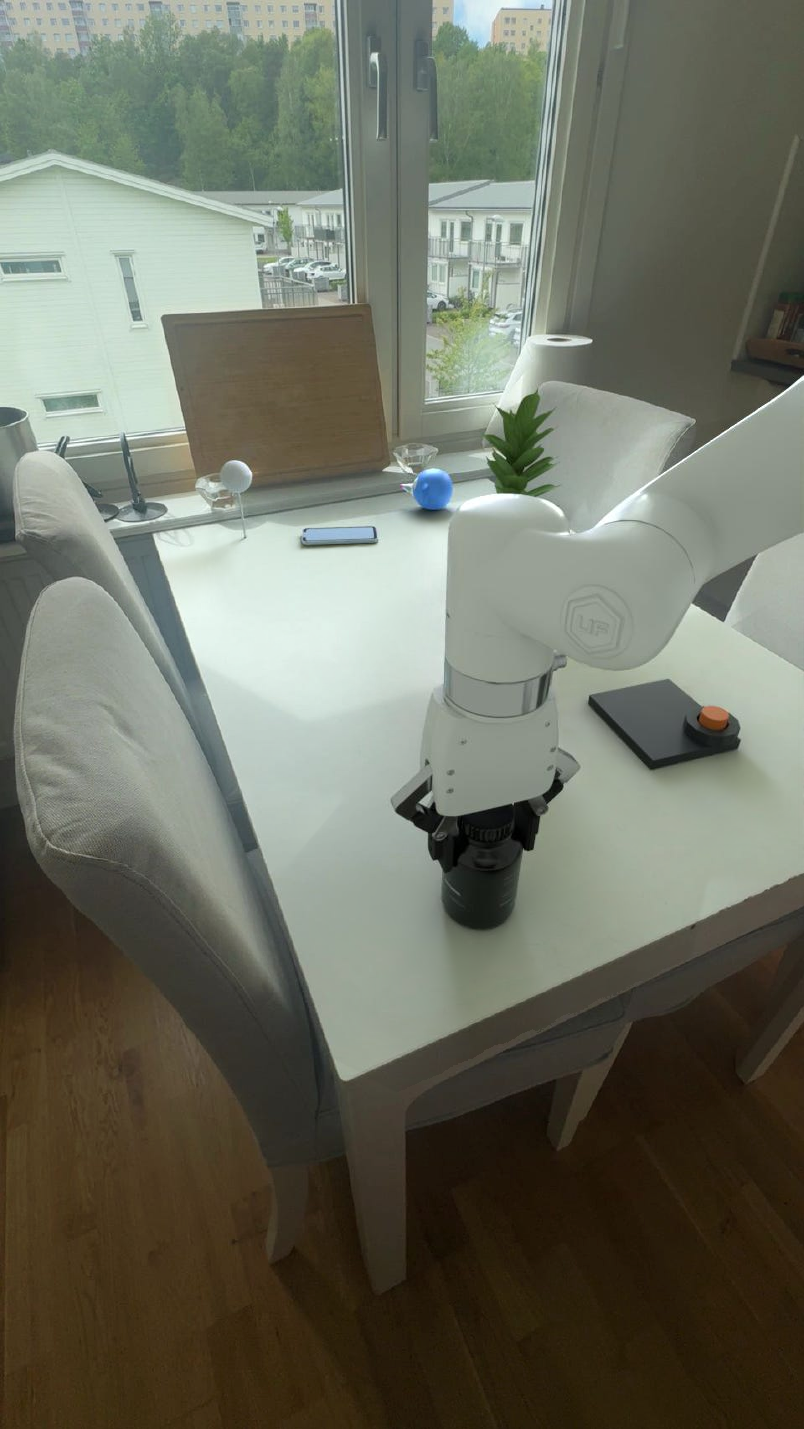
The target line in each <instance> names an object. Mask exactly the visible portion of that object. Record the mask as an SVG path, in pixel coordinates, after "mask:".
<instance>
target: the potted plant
mask: <svg viewBox="0 0 804 1429" xmlns="http://www.w3.org/2000/svg"><path fill="white" fill-rule="evenodd" d="M540 401H541V396H540V395H539V388H537V389H536V390H535V392H534V393H530V394H527V395H525V396H524V397H523V398H522V399H521V401H520V403H519V405H518V408H517V410H516V412H515V413H514V412H513V410H512V409H511V408H510V409H509V412H507V411H505V410H503V408H501V407H498V406H496V404H495V403H494V402H492V404H493V405H494V406H495V409H496V410H497V411H498V413H499V414H500V416H501V418H502V426H503V433H504V439H505V440H503V439H502V438H501V437H499V436H497V435H495V434H485V433H483V432H482V431H480V434H481V435H482V436H483V438H484V439H485V440H486V441H487V442H488V443H490V444H491V446H493V447H494V448H493V447H492V448H491V450H492V451H493V452H492V453H491V456H492V458H493V459H494V460H491V459H489V458H488V456H485V458H486V461H487V462H486V464H487V466H488V467H489V469H490V470H491V472H492V473H493V475H494V476H495V478H496V479H497V480H498V481H495V482H494V488H495V491H496V494H521V495H528V496H533V497H537V498H538V497H539V496H542V495H544V494H546V493H548V492H550V491H553V490H555V489H556V488H559V487H560V486H562V485H563V484H558V485H554V484H552V483H551V484H550V483H548V484H543V485H541V486H538V487H535V488H533V489H531V490H529V491H526V490H525V489H527V487H528V483H530V482H531V481H533V480H535V479H536V478H538V477H539V476H541V475H543V474H545V473H546V472H548V471H549V470H551V469H553V468H554V467H555V466H556V465H558V464H559V463H560V461H558V462H556V463H550V462H552V461H554V460H555V459H557V458H558V456H556V457H553V456H546V457H543V458H541V459H539V458H540V457H541V455H542V454H543V453H544V451H545V447H543V446H542V444H539V445H538V446H537V447H535V446H536V444H537V443H538V442H539V441H541V440H542V439H544V438H545V437H547V436H548V435H549V434H550V433H552V432H553V431H554V430H556V429H557V428H558V427H559V425H557V426H556V427H555V428H554V427H549V428H546V429H545V430H544V431H542V432H540V433H538V432H537V430H538V428H539V427H540V426H541V425H542V424H543V423H544V421H546V420H547V418H549V416H550V415H551V414H552V413H553V412H554V411H555V410H556V408H557V406H555V407H554V408H553V409H552V410H548V411H547V412H544V413H541V414H539V415H538V416H536V413H537V410H538V407H539V404H540ZM535 416H536V417H535ZM496 450H497V451H498V452H499V453H498V452H496ZM538 459H539V460H538ZM560 506H561V505H560V504H559V505H558V507H560Z"/></svg>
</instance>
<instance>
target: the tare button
mask: <svg viewBox="0 0 804 1429" xmlns="http://www.w3.org/2000/svg"><path fill="white" fill-rule="evenodd" d="M728 718H729V714H728V711H727V710H726V709H724V708H722V707H721V706H717V705H706V706H705V707H704V708H703V709H702V711H701V714H700V718H699V723H700V724H701V725H702V726H703V727H706V728H708V729H711V730H723V729H724V728H725V727H726V724H727V721H728Z"/></svg>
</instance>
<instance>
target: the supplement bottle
mask: <svg viewBox="0 0 804 1429" xmlns="http://www.w3.org/2000/svg"><path fill="white" fill-rule="evenodd" d="M450 833H451V835H452V837H453V840H454V849H453V869H452V870H451V872H448V873H444V872H443V870H442V869H441V871H442V872H441V903H442V907H443V908H444V911H445V912H446V913H447V915H448V916H449V917H450V918H451V919H452V920H453V921H454V922H455V923H457V924H458V925H461V926H462V927H465V928H468V929H471V930H477V931H479V930H480V931H484V930H491V929H494V928H497V927H499V926H501V925H502V924H504V923H505V922H506V921H507V920H508V919H509V918H510V917H511V915H512V914H513V912H514V910H515V909H514V908H515V906H516V901H517V900H516V899H517V893H518V887H519V882H520V874H521V867H522V862H523V853H524V849H523V838H522V835H521V832H520V830H519V829H518V827H517V826H516V825H515V809H514V806H513V803H512V804H507V805H503V806H499V807H495V808H491V809H487V810H483V811H478V812H474V813H469V814H465V815H459V817H458V819H457V820H456V822H455V824H454V825H453V827H452V829H451V830H450Z"/></svg>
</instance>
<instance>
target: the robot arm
mask: <svg viewBox="0 0 804 1429" xmlns="http://www.w3.org/2000/svg"><path fill="white" fill-rule="evenodd" d="M800 534H804V375H802V376H800V378H799V379H797V380H796V381H795V382H794V383H792V384H791V385H790V386H789V387H788V388H787V389H785V390H784V391H783V392H781V393H780V394H779V395H777V396H776V397H774V398H772V399H771V400H770V401H768V402H767V403H765V404H764V405H762V406H761V407H759V408H757V409H756V410H755V411H753V412H751V413H750V414H749V415H747V416H745V417H744V418H743V419H741V420H740V421H738V422H737V423H735V424H734V425H732V426H731V427H729V428H727V429H726V430H725V431H723V432H721V433H720V434H719V435H717V436H716V437H714V438H713V439H711V440H710V441H708V442H706V443H705V444H704V445H702V446H700V447H699V448H698V449H696V450H695V451H694V452H692V453H690V454H689V455H688V456H686V457H685V458H683V459H682V460H680V461H679V462H678V463H676V464H674V465H673V466H671V467H670V468H669V469H667V470H666V471H664V472H663V473H661V474H660V475H659V476H657V477H655V478H654V479H653V480H651V481H649V482H648V483H647V484H645V485H643V486H642V487H641V488H639V489H638V490H636V491H635V492H634V493H632V494H631V495H629V496H628V497H627V498H625V499H624V500H623V501H622V502H620V503H618V505H616V506H615V507H614V508H613V509H612V510H611V511H609V512H608V513H607V514H605V516H603V518H602V519H600V520H599V521H598V523H596V524H595V525H594V526H593V527H592V528H590V529H587V530H584V531H581V532H577V533H571V530H570V522H569V520H568V518H567V516H566V515H565V512H564V511H563V510H562V509H561V508H560V507H559V506H558V505H556V504H554V503H553V502H551V501H549V500H546V499H544V498H541V497H538V496H537V497H533V496H528V495H521V494H497V493H493V494H488V495H487V494H486V495H483V496H482V495H481V496H477V497H474V498H472V499H469V500H467V501H465V502H464V503H463V504H461V505H460V506H459V507H457V509H456V510H455V511H454V512H453V514H452V517H451V518H450V522H449V525H448V532H447V551H446V552H447V553H446V582H445V583H446V584H445V586H446V587H445V588H446V589H445V626H444V658H443V661H444V662H443V683H440V684H437V685H436V686H434V688H433V689H432V692H431V695H430V698H429V702H428V704H427V705H428V706H427V709H426V713H425V719H424V724H423V729H422V737H421V745H420V756H419V771H418V772H417V773H416V774H415V775H414V776H413V777H412V778H411V779H410V780H409V781H407V783H406V784H404V785H403V786H402V787H401V788H400V789H399V790H398V791H397V792H396V793H394V794H393V795H392V796H391V798H390V803H391V806H392V808H393V810H394V812H395V814H397V815H398V816H400V817H401V818H403V819H405V820H406V821H408V822H411V823H412V824H413V826H414V827H416V828H417V829H420V830H422V831H423V832H425V833H427V850H428V854H429V856H430V858H431V860H432V862H433V861H438V864H439V865H440V867H441V871H442V870H443V872H444V873H448V872H451V870H452V869H453V849H454V840H453V837H452V835H451V833H450V830H451V829H452V827H453V825H454V824H455V822H456V820H457V819H458V817H459V815H465V814H469V813H474V812H478V811H483V810H487V809H491V808H495V807H499V806H503V805H507V804H512V805H513V806H514V809H515V825H516V826H517V827H518V829H519V830H520V832H521V835H522V838H523V851H526V852H531V851H534V849H535V843H536V837H537V835H539V831H540V823H541V817H542V816H544V815H545V814H547V813H548V811H549V806H548V805H549V804H550V803H551V801H553V800H554V799H555V798H556V797H557V796H558V795H559V794H560V793H561V792H562V791H563V790H564V788H565V787H564V784H567V783H568V782H569V781H570V780H571V779H572V778H573V777H574V776H575V775H576V774H577V773H578V772H579V771H580V769H581V764H580V763H579V762H578V761H577V760H576V758H575V757H574V756H573V755H572V754H571V753H569V752H567V751H566V750H564V749H562V748H561V747H559V713H558V704H557V696H556V690H555V688H554V686H553V685H552V682H553V675H554V672H556V671H558V669H564V668H565V667H566V666H567V664H568V658H570V659H571V660H573V661H575V662H578V663H580V664H583V665H585V666H588V667H590V668H595V669H598V670H603V671H610V672H611V671H612V672H621V671H628V670H632V669H636V668H639V667H641V666H644V665H645V664H647V663H649V662H651V661H652V660H653V659H655V658H656V657H657V656H658V655H659V654H660V653H661V652H662V651H663V650H664V649H665V647H667V645H668V644H669V642H670V641H671V639H672V638H673V636H674V635H675V633H676V631H677V629H678V628H679V626H680V624H681V622H682V621H683V619H684V617H685V615H686V614H687V612H688V610H689V608H690V607H691V605H692V603H693V601H694V599H695V598H696V596H697V595H698V593H699V591H700V590H701V588H702V587H703V585H705V584H706V583H708V582H709V581H711V580H712V579H714V578H716V577H718V576H719V575H721V574H723V573H725V572H727V571H729V570H730V569H732V568H734V567H737V566H738V565H739V564H741V563H743V562H745V561H748V559H751V558H754V557H755V556H756V555H759V554H760V553H763V552H765V551H766V550H768V549H770V548H773V547H774V546H776V545H778V544H780V543H783V542H785V541H787V540H789V539H792V538H794V537H796V536H798V535H800ZM431 792H432V795H431V797H430V798H429V801H428V803H427V804H426V805H424V804H423V803H420V801H422V800H423V799H424V798H425V797H426V796H427V795H428V794H430V793H431Z"/></svg>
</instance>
